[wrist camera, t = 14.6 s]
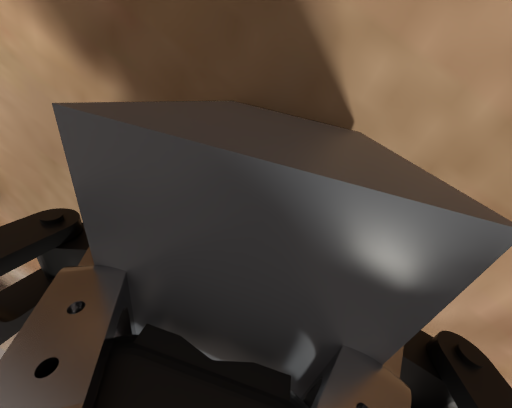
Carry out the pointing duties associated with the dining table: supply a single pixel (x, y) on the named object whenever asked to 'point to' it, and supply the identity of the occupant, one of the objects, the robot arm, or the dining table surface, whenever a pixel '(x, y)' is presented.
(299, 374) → the grey rectangular box
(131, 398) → the robot arm
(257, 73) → the dining table surface
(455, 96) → the dining table surface
